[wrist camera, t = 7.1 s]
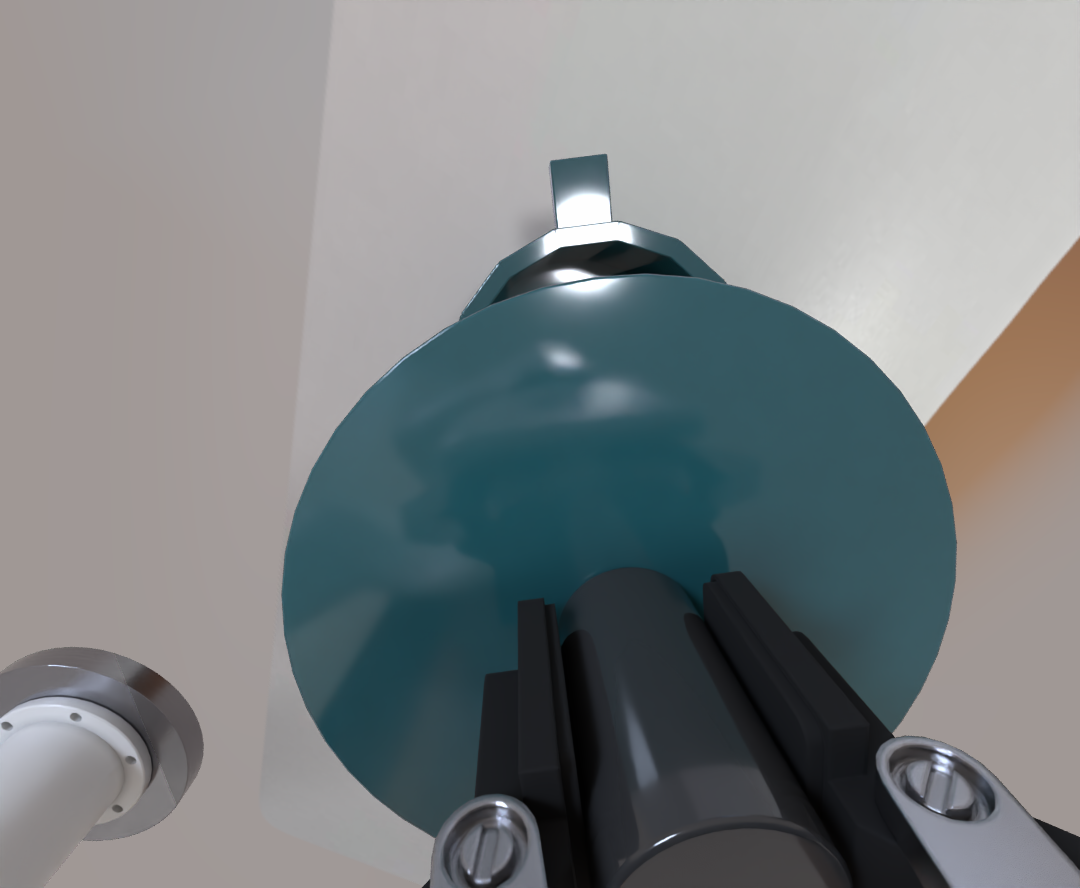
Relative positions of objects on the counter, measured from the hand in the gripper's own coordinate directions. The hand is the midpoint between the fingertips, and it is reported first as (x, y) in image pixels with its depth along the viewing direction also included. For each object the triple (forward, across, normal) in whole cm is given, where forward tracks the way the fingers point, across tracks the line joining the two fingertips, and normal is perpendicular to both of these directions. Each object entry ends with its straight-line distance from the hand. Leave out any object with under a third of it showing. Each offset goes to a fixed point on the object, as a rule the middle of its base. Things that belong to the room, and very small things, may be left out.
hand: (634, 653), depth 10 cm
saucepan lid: (+1, 0, 0) cm, 1 cm away
